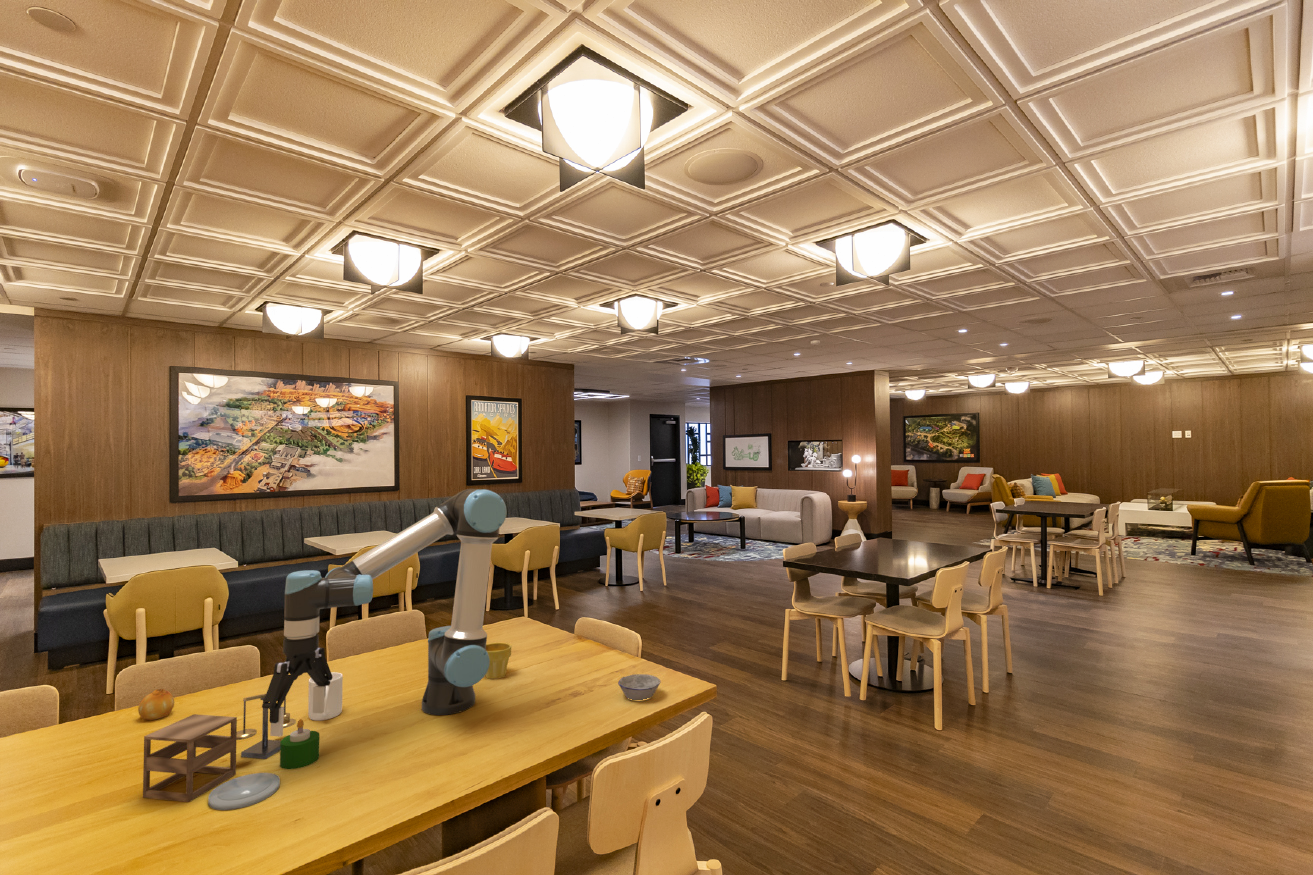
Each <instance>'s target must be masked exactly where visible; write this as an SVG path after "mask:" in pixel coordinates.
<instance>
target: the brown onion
mask: <svg viewBox="0 0 1313 875" xmlns="http://www.w3.org/2000/svg"><path fill="white" fill-rule="evenodd" d="M174 707H175V698H174V697H173V695H172V693H171V692H170V691H168V690H165V689H164V688H157V689H155V690H153V691H152V692H151V693H149V694H147V695H146V696H144V697H143V698H142V700H141V701H140V702H139V704H138V708H137V712H138V714H139V716H140V717H141V718H142V719H144V720H146V721H147V720H148V721H153V720H159V719H162V718H165V717H167V716H168V715H169V714H170V713H171V712H172V710H173V708H174Z"/></svg>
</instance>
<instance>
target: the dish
mask: <svg viewBox="0 0 1313 875" xmlns="http://www.w3.org/2000/svg"><path fill="white" fill-rule="evenodd" d="M280 780H281V779H280V777H279V775H278V774H276V773H274V772H273V773H271V772H257V773H250V774H245V775H241V776H238V777H235V778H232V779H229V780H228V781H227V780H226V781H224V782H222V783H220V784H219V785H217V786H215V787H214V788H213V789H212V790H211V792H210V793H209V794H208V797H207V798H208V800H207V802H208V803H207V804H208V807H210V808H211V809H213V810H217V811H230V810H231V811H232V810H237V809H238V810H239V809H242V808H247V807H250V806H252V805H255V804H257V803H260V802H262V801H264V800H266V799H268V798H270V797H271V796H273V795H274V794H275V793H276V792H277V791H278V790H279V788H280V784H281V781H280Z"/></svg>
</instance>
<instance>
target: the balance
mask: <svg viewBox="0 0 1313 875" xmlns="http://www.w3.org/2000/svg"><path fill="white" fill-rule="evenodd" d="M265 696H266V693H262V694H258V695H252V696H247V697H243V700H242V702H243V721H242V722H243V723H242V724H243V727H242V729H240V730H238V731H237V736H236V741H240V740H241V741H242V740H246V739H250V738H252V737H254V736H256V734H257V729H256V728H246V715H247V714H246V711H247V710H246V709H247V708H246V707H247V706H246V705H247V703H246V702H248V701H249V702H250V701H253V700H258V699H260V701H262V702H263V701H264V699H265ZM286 700H287V696H286V697H285V699H284V701H283V707H284V719H283V729H286V728H289V727H291V726H293V725H295V724H296V722H297V721H296V719H295V718H291V713H289V712H286V711H287V710H286V709H287V708H286V704H287V701H286ZM261 724H262V732H261V734H262V736H261V741H258V742H256V743H255V744H252V746H250V747H248V748H246V749H244V750H242V751H241V752H240V753H241V755H240V757H241V758H251V759H261V760H262V759H263V760H266V759H268V758H270V757H272V756H273V755H276V754H277V753H278V752H280V741H281V740H279V739H278V740H277V739H269V709H267V708H262V723H261Z"/></svg>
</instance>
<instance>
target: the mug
mask: <svg viewBox="0 0 1313 875" xmlns="http://www.w3.org/2000/svg"><path fill="white" fill-rule="evenodd" d="M331 674H332V680H329V681H330V685H329V686H326V695H325V701H324V713H322V714H321V713H313V687H314V686H318V685H316V683H315V682H314V681H313V680H312V678H311V677H310V678H309V679H308V701H307V702H308V709H307V711H308V718H309V719H310V720H311V721H317V722H318V721H325V720H330V719H334V718H337V717H338V716H339V715H340V714H341V713H342V711H343V682H344V681H343V673H341V672H336V671H335V672H334V671H333V672H332V671H331ZM325 675H326V674H325Z"/></svg>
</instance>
